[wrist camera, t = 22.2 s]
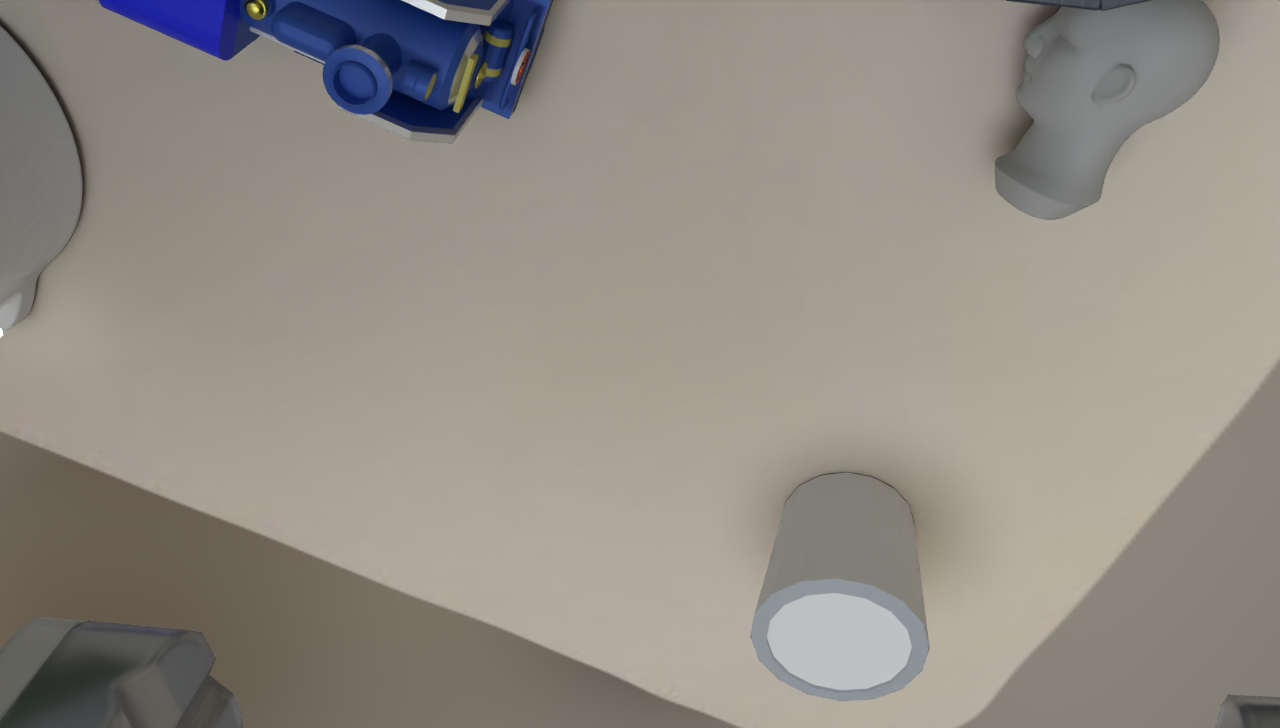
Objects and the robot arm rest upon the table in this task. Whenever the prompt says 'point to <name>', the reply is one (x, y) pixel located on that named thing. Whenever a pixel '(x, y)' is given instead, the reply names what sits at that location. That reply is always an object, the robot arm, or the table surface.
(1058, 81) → the grey rounded elongated piece
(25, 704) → the robot arm
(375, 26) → the toy train
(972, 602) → the table surface
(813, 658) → the white cylinder
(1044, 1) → the tin
